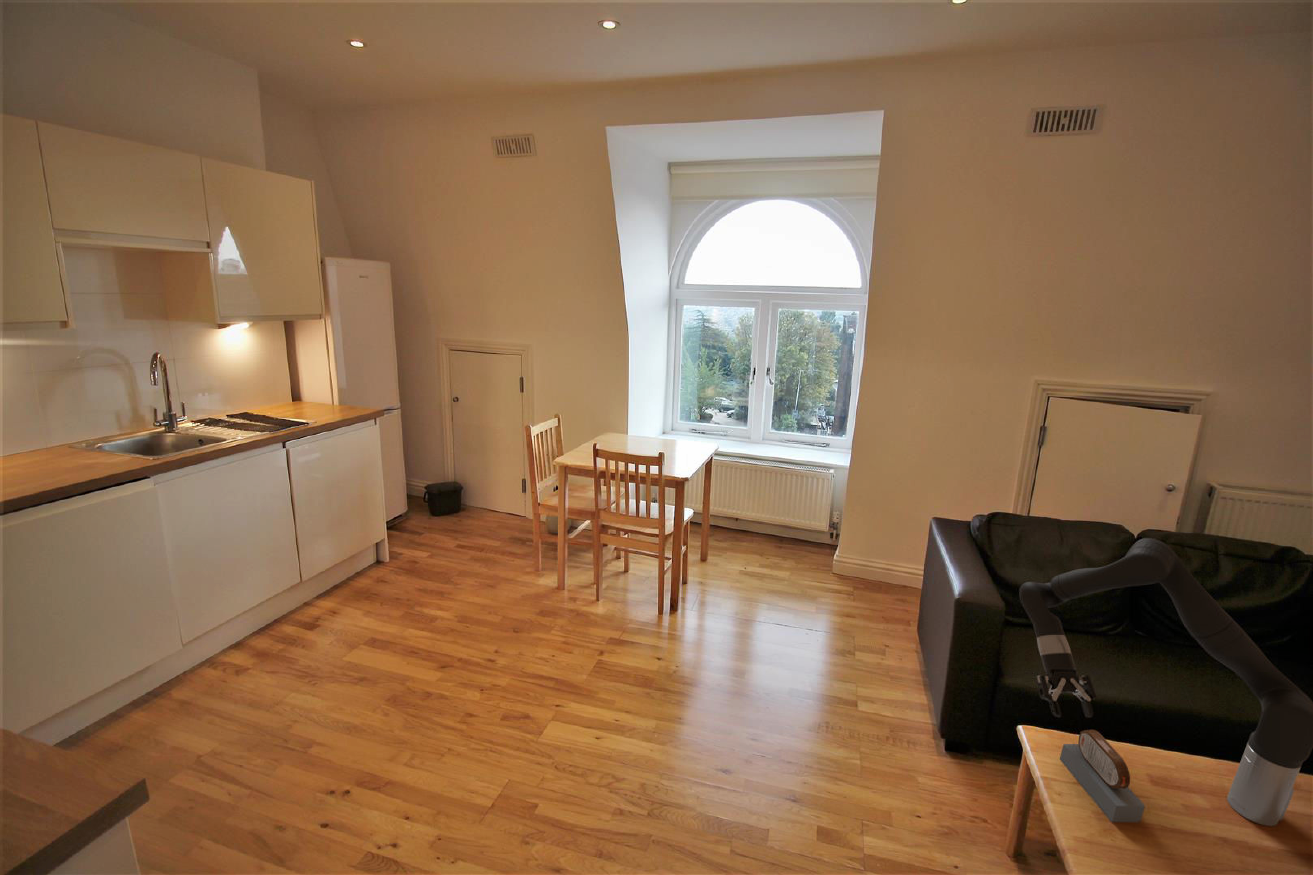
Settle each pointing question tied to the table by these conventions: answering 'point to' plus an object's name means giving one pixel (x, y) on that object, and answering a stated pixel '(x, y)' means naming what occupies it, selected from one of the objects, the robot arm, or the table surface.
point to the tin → (1104, 759)
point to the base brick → (1102, 788)
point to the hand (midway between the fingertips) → (1073, 716)
